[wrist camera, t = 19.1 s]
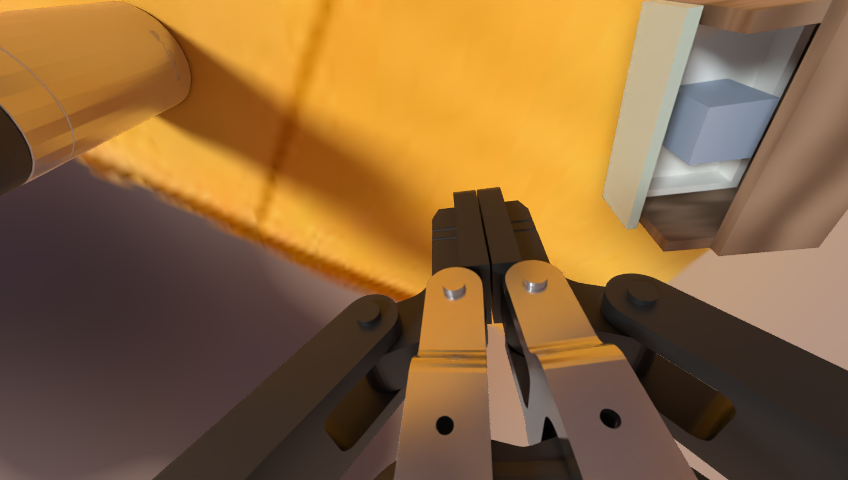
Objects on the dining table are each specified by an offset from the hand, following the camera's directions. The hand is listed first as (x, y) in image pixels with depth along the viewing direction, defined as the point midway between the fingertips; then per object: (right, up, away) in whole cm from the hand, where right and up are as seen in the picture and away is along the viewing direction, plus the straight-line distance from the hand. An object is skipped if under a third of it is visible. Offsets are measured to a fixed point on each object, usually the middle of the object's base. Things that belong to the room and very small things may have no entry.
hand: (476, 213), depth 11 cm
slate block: (+24, +12, +21) cm, 34 cm away
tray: (+24, +12, +22) cm, 35 cm away
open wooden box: (+26, +13, +23) cm, 37 cm away
